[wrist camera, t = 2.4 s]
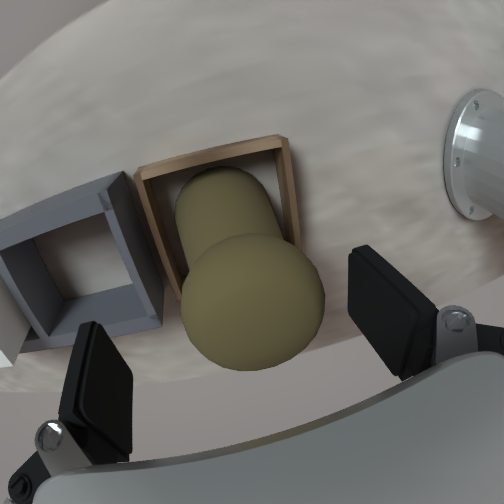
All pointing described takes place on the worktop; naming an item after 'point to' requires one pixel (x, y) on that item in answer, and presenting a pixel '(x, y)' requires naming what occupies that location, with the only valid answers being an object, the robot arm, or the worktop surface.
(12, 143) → the worktop surface
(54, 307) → the grey divided tray
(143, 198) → the wooden square frame
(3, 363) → the white block
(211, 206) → the cork
